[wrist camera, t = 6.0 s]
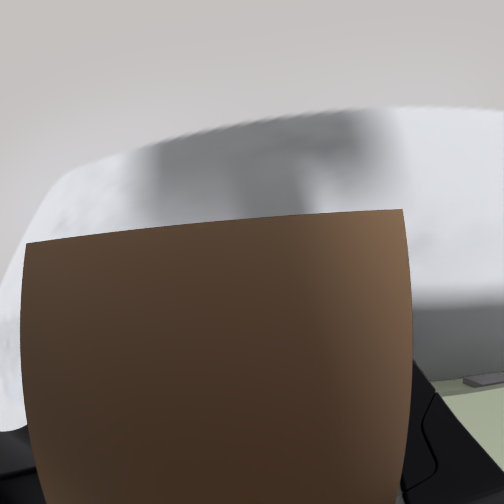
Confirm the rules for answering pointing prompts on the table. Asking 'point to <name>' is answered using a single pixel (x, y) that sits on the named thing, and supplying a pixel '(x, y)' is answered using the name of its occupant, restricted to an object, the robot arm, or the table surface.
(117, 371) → the banded wooden block
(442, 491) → the robot arm
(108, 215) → the table surface
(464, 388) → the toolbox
